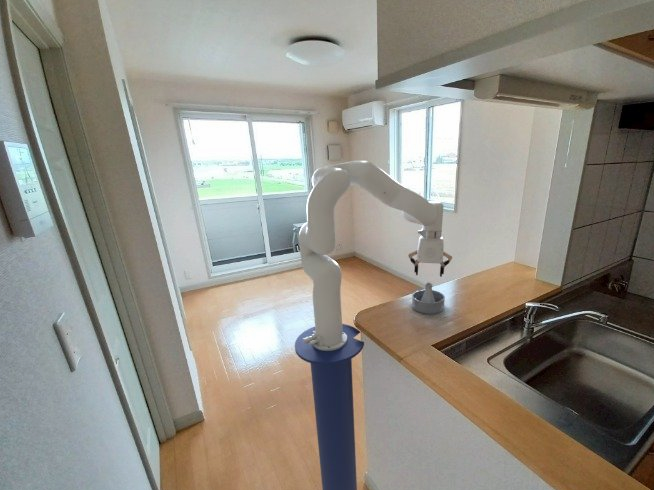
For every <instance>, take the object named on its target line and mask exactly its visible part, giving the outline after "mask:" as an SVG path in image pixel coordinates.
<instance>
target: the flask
mask: <svg viewBox="0 0 654 490" xmlns="http://www.w3.org/2000/svg"><path fill="white" fill-rule="evenodd" d="M433 285H434V284H433V283H432V282H425V283H424V286H425V287H424V290H425V292H424V295H423V297H422V299H421V302H427V303H434V302H435V299H434V296H433V293H432V290H433Z"/></svg>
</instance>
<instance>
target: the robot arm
mask: <svg viewBox="0 0 654 490" xmlns="http://www.w3.org/2000/svg"><path fill="white" fill-rule="evenodd" d="M311 183H312V186H313V188H312V189H311V191H310V193H309V195H308V198H307V202H306V222H305V223H304V224H303V225H302V226H301V228H300V229H299V234H298V243H299V253H300V254H299V255H300V261H301V267H302V270H303V272H304V273H305V274H306V275H307V276H308V277H309V278H310V280H312V284H313V288H312V305H313V306H312V307H313V316H314V318H313V319H314V327H315V331H313V334H312V335H311V336H310V337H306V338H303V342H304V344H306V343H310V345H313V346H314V347H315V348H317V349H319V350H322V351H332V350H337V349H339V348H341V347H343V346H344V345H345V344H346V342H347V335H346V334H345V333H344V332H342V324H343V317H342V316H343V314H342V300H341V299H342V296H341V295H342V294H341V292H342V291H341V287H342V279H343V273H342V269H341V266H340V264H339V263H338V262H337V261H335V260H334V259H333V258H331V257H330V256H328V255H330V254H331V253H333V252H334V251H335V248H336V245H337V235H336V222H335V211H336V210H335V209H336V205H337V203H338V201H339V200H340V199H341V198H342V197H343V196H344V195H345V194H346V193H347V192H348V190H349V188H352V187H357V188H360V189H363V190H364V191H365V192H366V193H368V194H370V196H373V197H374V198H375V199H377V200H378V201H379V202H381V203H382V204H384V205H386V206H387V207H390V208H392V209H396V210H399V211H401V214H402V217H403V218H404V220H406V221H407V222H409V223H413V224H417V225H421V229H420V230H418V231H417V234H418V235H421V236H419V238H418V243H417V244H418V245H417V249H416V250H415V251H412V252H409V253H408V259H409V260H410V262H411V263H412V264H413V266H414V270H413V271H414V273H415V276H419V264H420V263H422V264H424V263H425V264H439V265H440V266H439V277H440V278H442V277H443V275H444V272H445V267H446V266H448V265H449V264H450V262H452V259H453V255H450V254H449V253H448V252H446V251H444V247H445V245H444V238H443V236H442V231H443V218H444V204H443V202H441V201H434V200H433V201H429V200H428V199H426V198H425V197H423V196H422V195H420V194H419V193H417V192H415V191H413V190H411V189H410V188H408V187H406V186H405V185H403V184H401V183H400V182H399V181H397V180H395V179H394V178H393V177H391V175H389V174H388V173H386V172H385V171H384V170H383V169H381V168H380V167H379V166H378V165H376V163H373V162H372V161H369V160H351V161H347V162H342V163H336V164H331V165H326V166H321V167H318V168H317V169H316V170H315V171H314V172H313V174H312V177H311ZM414 256H416V259H415V258H414ZM444 257H445V258H447V259H446V260H444Z"/></svg>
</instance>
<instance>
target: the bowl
mask: <svg viewBox="0 0 654 490" xmlns="http://www.w3.org/2000/svg"><path fill="white" fill-rule="evenodd" d="M424 292H425V289H419V290H416V291H414V292H412V295H411V306H412V308H413V310H414V311H416V312H418V313H420V314H426V315H433V314H438V313H441V312H442V311H443V310H444V309H445V302H446V296H445V295H444V294H443V293H442V292H440V291H437V290H434V289H432V293H433V296H434V299H435V302H434V303H427V302H421V299H422V297H423V295H424Z"/></svg>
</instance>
